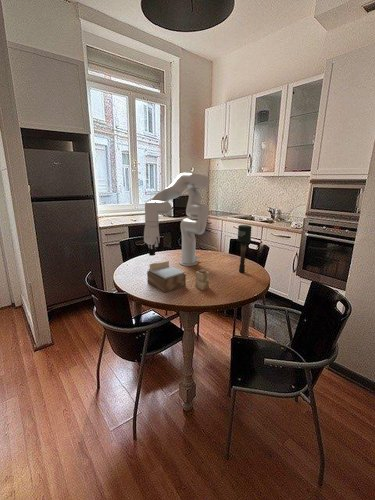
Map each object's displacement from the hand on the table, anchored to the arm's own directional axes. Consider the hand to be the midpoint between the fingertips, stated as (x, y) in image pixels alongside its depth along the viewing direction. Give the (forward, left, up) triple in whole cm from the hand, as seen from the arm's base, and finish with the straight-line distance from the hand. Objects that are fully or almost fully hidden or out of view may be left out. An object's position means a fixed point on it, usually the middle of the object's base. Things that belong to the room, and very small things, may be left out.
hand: (152, 255), depth 146 cm
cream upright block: (-14, +28, -14) cm, 35 cm away
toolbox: (-1, +13, -14) cm, 19 cm away
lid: (-1, +13, -7) cm, 15 cm away
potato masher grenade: (-50, +27, -15) cm, 58 cm away
